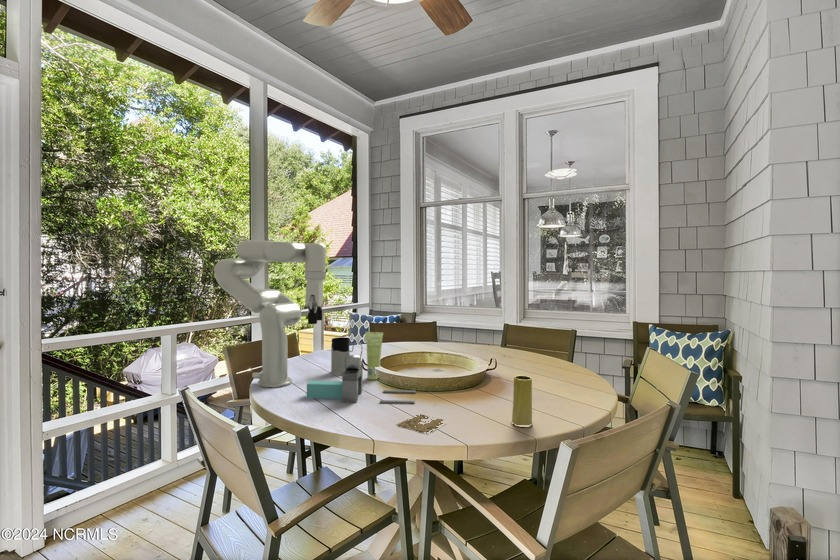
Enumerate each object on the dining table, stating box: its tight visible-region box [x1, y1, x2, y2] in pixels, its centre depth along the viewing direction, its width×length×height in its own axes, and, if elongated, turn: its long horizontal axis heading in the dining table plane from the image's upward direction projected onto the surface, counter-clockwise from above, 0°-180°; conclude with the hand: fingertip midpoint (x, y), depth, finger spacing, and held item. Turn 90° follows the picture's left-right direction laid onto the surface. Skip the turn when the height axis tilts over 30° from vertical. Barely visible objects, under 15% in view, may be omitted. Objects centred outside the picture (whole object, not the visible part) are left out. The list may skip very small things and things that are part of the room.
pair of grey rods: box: [379, 389, 417, 405], centre depth 155 cm, size 12×14×1 cm
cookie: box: [395, 413, 444, 433], centre depth 130 cm, size 12×12×1 cm
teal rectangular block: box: [306, 380, 342, 400], centre depth 156 cm, size 17×4×5 cm, turn 89°
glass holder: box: [330, 336, 363, 377], centre depth 189 cm, size 9×14×15 cm, turn 82°
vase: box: [511, 374, 533, 425], centre depth 131 cm, size 6×6×14 cm
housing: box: [341, 354, 364, 403], centre depth 156 cm, size 5×13×15 cm, turn 179°
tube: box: [364, 331, 384, 381], centre depth 181 cm, size 6×5×20 cm
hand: (315, 321), depth 162 cm, fingers open, 9 cm apart
